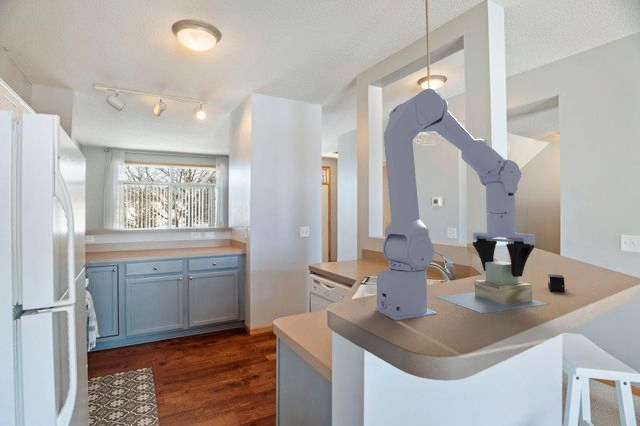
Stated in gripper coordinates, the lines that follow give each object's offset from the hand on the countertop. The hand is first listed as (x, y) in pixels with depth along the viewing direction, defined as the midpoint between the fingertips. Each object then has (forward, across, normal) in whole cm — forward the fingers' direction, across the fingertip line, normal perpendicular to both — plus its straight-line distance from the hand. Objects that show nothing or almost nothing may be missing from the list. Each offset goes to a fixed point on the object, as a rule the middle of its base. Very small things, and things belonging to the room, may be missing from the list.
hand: (502, 273), depth 73 cm
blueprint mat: (+6, 0, +4) cm, 7 cm away
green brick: (+3, 0, 0) cm, 3 cm away
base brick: (+6, 0, 0) cm, 6 cm away
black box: (+7, +1, -19) cm, 20 cm away
